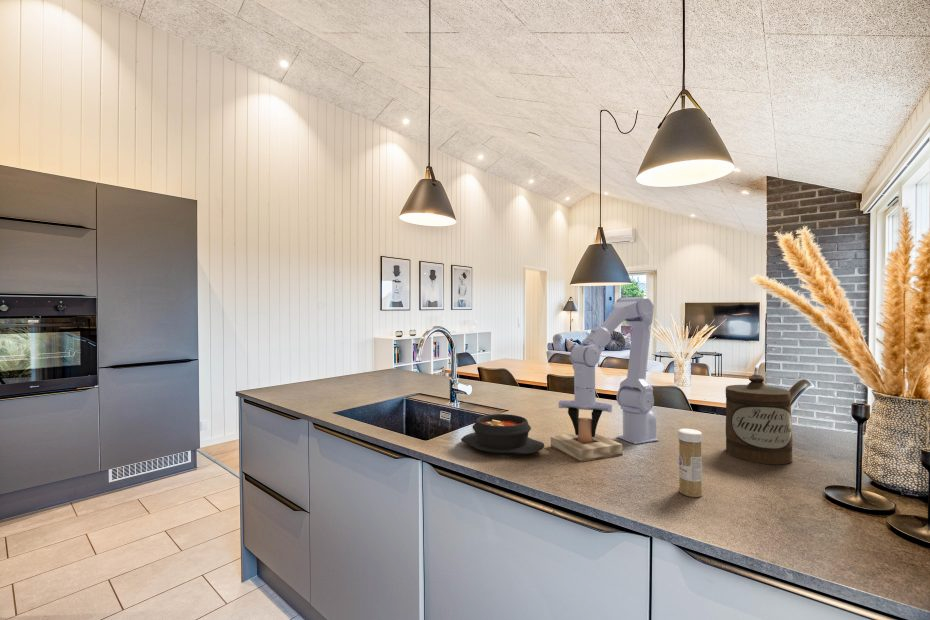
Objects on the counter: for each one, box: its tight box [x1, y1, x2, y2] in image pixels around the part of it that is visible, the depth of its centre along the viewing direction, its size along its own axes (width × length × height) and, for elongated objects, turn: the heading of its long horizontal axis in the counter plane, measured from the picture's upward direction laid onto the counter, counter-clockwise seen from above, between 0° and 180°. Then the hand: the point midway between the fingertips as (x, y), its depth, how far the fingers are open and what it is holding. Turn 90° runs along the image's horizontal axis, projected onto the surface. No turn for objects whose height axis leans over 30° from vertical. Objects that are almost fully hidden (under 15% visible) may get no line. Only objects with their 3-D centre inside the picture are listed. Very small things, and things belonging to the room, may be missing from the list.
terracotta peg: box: [578, 417, 593, 444], centre depth 118 cm, size 4×4×7 cm
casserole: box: [460, 413, 545, 455], centre depth 121 cm, size 25×19×8 cm
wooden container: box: [725, 373, 793, 465], centre depth 114 cm, size 15×15×22 cm
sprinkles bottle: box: [677, 428, 703, 498], centre depth 90 cm, size 5×5×14 cm
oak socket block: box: [550, 432, 624, 463], centre depth 118 cm, size 14×14×3 cm
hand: (585, 435), depth 118 cm, fingers closed on terracotta peg, 4 cm apart
